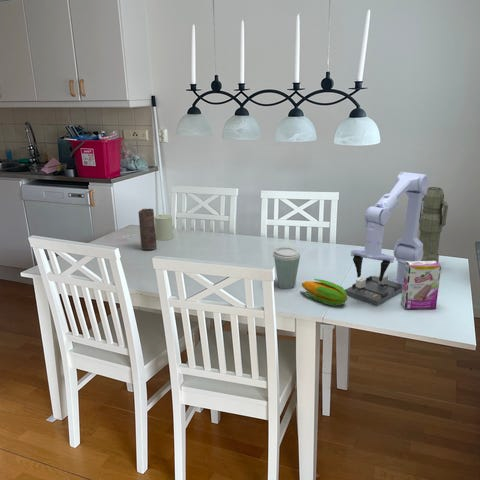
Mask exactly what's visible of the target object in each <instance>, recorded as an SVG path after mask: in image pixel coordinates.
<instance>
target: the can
mask: <svg viewBox="0 0 480 480" xmlns="http://www.w3.org/2000/svg"><path fill="white" fill-rule="evenodd" d="M154 223H155V234H156V241H157V240H158V241H169V240H170V241H171V240H172V239H174V232H173V231H174V230H173V216H172V215H171V214H167V213H166V214H158V215H154Z"/></svg>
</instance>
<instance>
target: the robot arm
mask: <svg viewBox="0 0 480 480" xmlns="http://www.w3.org/2000/svg"><path fill="white" fill-rule="evenodd" d="M429 183H430V182H429V178H428V175H427V174H425V173H416V172H408V171H407V172H406V171H400V173H399V174H398V175H397V177H396V182H395V185H394V186H393V187H392V189H391V191H390V192H389V193H385V194H383V195H382V196H381V198H380V199H379V200H378V201H377V202H376V203H375V204H374V205H372V206H369V207H368V208H367V209H366V210H365V214H364V221H365V227H366V233H365V240H364V250H358V249H351V251H350V252H351V253H350V256H351V257H353V258H352V261H353V263H354V267H355V270H356V277H357V278H361V276H362V275H361V274H362V264H363V259H364V258H365V259H370V260H375V261H381V262H380V272H379V273H380V274H379V276H380V278H379V281H380V282H381V281H382V279H383V276H384V275H385V273H386V271H387V269H388V267H389V266H390V264H392V263H394V262H395V261H397V268H396V278H394V279H393V280H392V281H393V282H396V283H400V284H403V276H404V266H405V261H421V260H422V257H423V243H422V242H421V241H420V240H419V238H418V232H419V231H418V230H419V224H420V223H419V219H420V212H421V213H422V211H421V205H422V206H423V201H422V198H423V197H424V195H426V194H427V189H428V188H429V187H428V186H429ZM405 193H406V196H407V198H408V200H407V206H406V212H405V213H406V214H405V221H404V228H403V235H402V236H401V237H399V238H398V239H397V240H396V243H395V246H394V248H393V255H390V254H385V253H382V248H383V240H384V234H385V233H384V231H385V225H386V224H388V221H389V218H390V217H391V213H392V212H393V210H394V209H395V208H396V207H397V206H398V202H399V201H398V200H399V199H400V198H401V197H402V196H403V195H404V194H405ZM395 259H396V260H395Z"/></svg>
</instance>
